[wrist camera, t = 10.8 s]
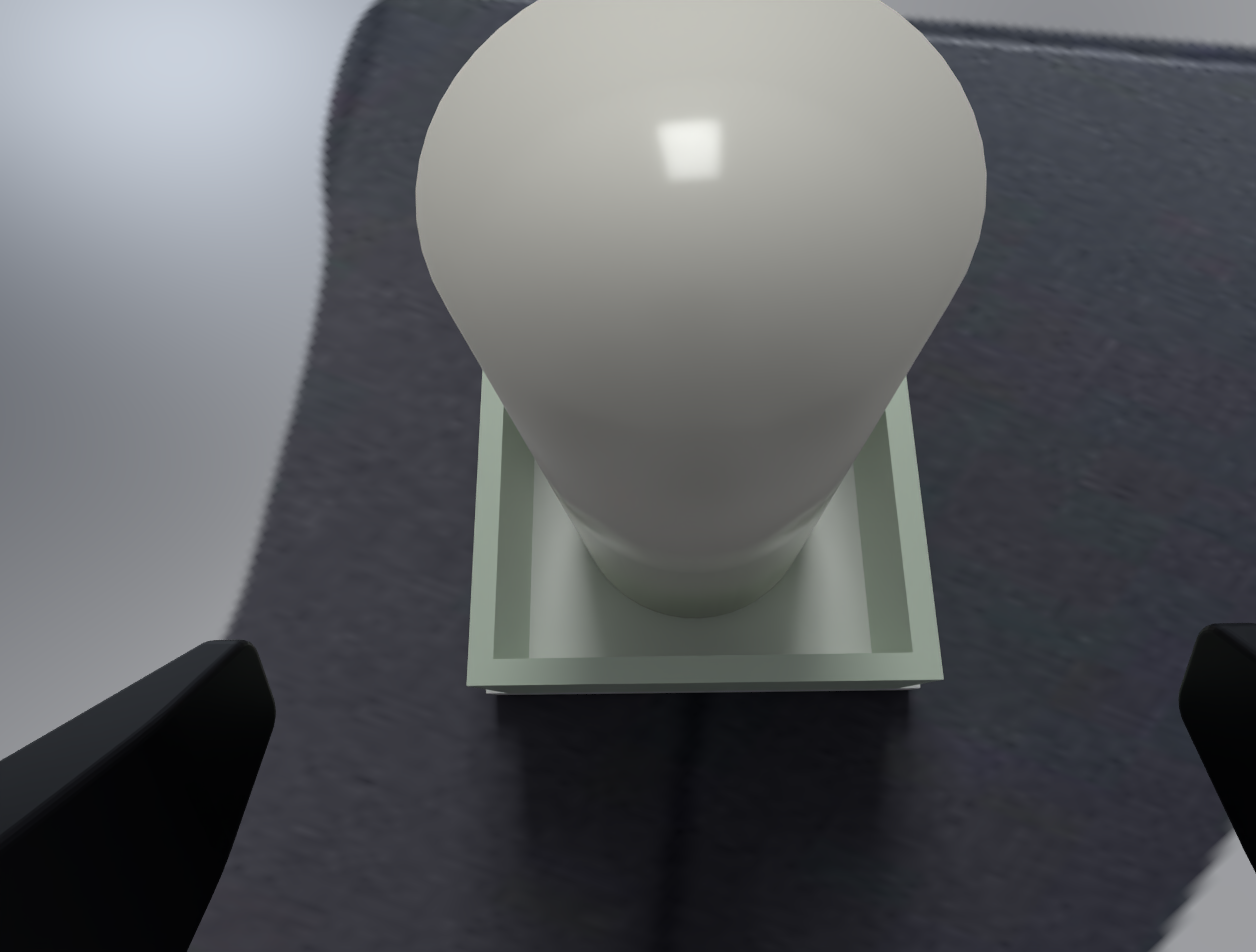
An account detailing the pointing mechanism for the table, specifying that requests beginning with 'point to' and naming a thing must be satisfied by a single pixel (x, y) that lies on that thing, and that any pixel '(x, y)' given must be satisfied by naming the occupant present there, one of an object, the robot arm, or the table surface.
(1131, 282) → the table surface
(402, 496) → the table surface
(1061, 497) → the table surface
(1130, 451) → the table surface
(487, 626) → the pale green holder box
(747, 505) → the off-white round-top cylinder
